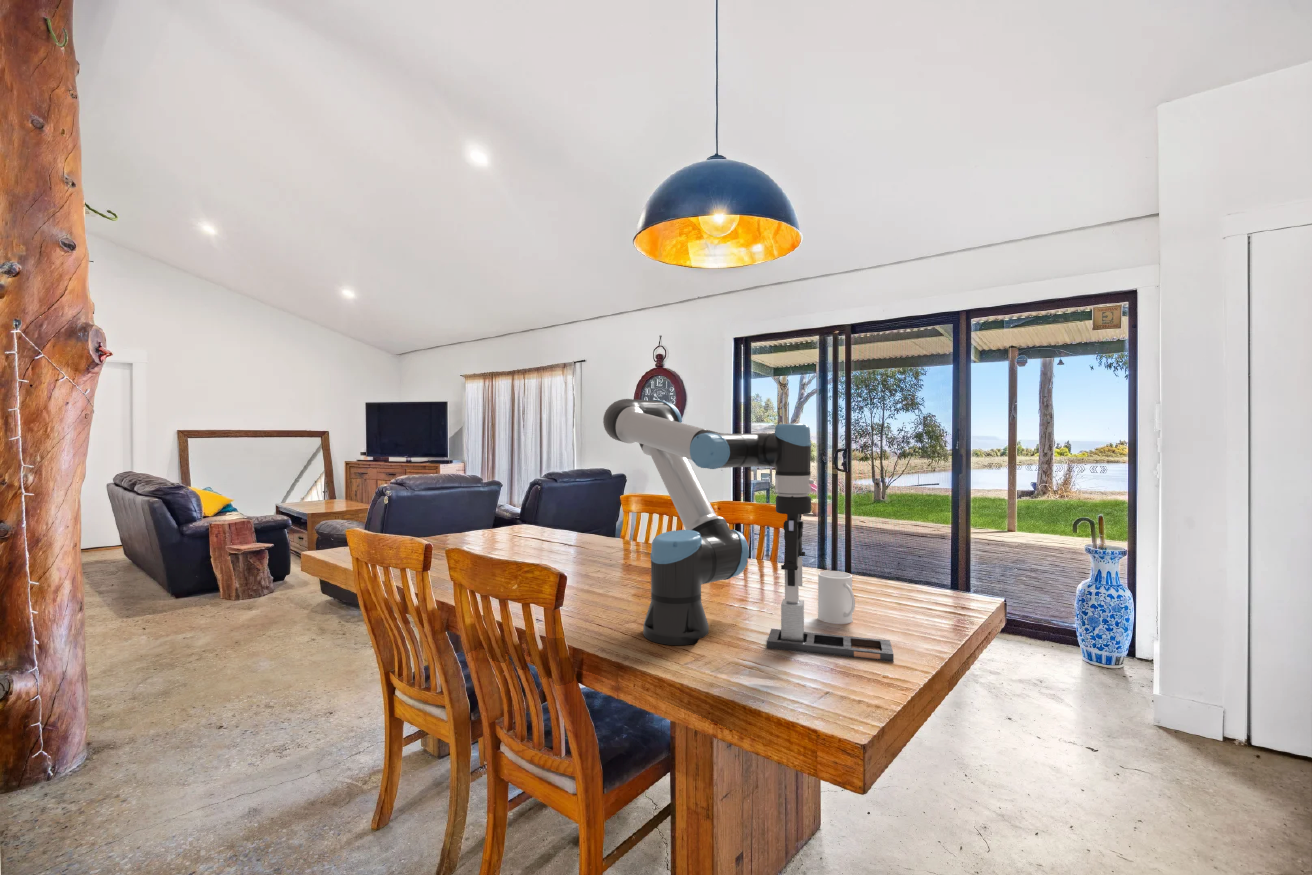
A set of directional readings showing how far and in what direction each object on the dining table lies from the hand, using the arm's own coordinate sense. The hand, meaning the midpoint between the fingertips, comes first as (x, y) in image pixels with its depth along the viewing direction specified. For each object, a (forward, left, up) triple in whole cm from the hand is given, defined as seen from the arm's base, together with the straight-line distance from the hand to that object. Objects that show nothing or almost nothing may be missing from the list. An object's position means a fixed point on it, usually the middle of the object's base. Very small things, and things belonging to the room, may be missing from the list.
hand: (794, 593), depth 126 cm
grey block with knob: (0, 0, -11) cm, 11 cm away
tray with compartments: (+7, 0, -12) cm, 14 cm away
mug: (+9, +20, -12) cm, 25 cm away
